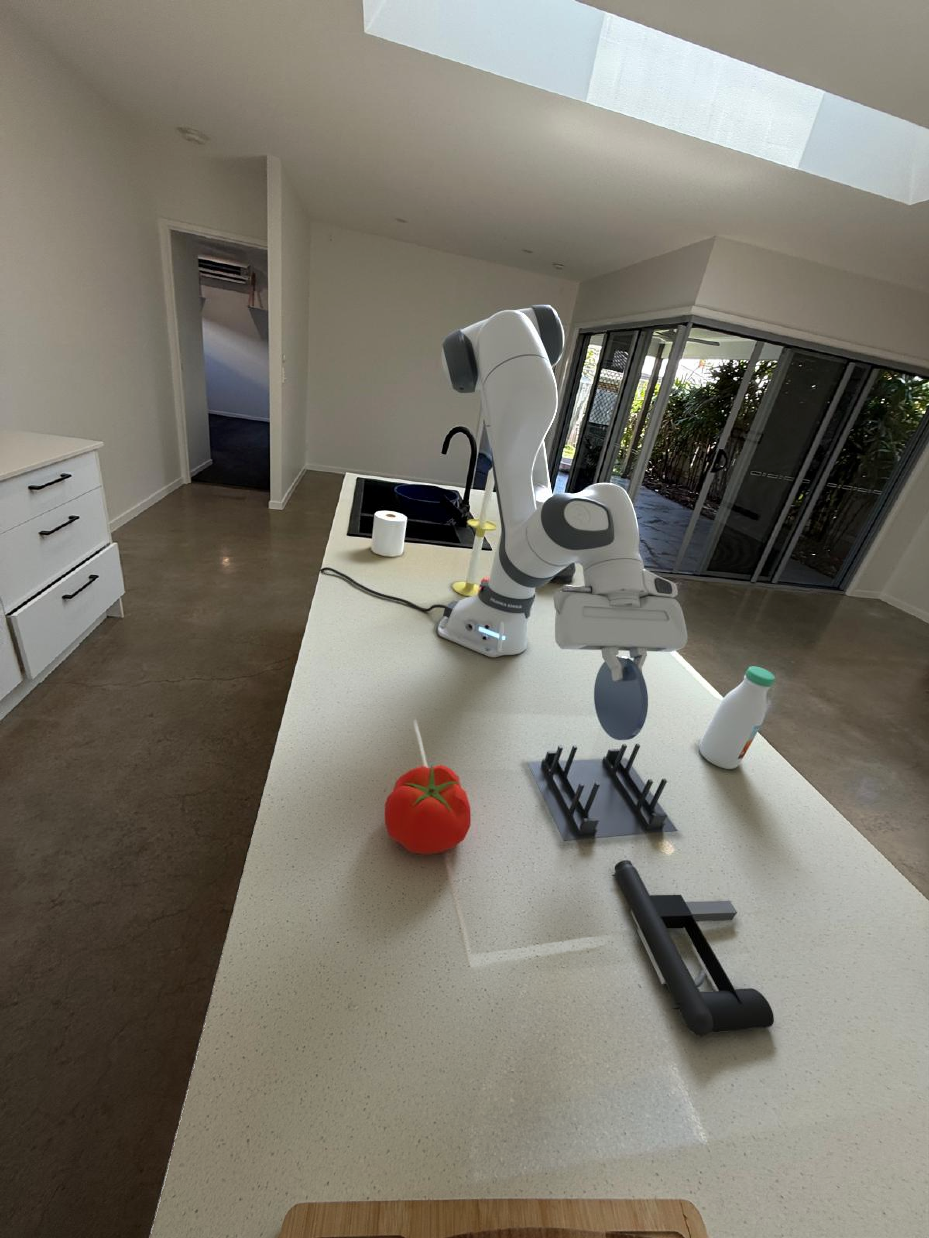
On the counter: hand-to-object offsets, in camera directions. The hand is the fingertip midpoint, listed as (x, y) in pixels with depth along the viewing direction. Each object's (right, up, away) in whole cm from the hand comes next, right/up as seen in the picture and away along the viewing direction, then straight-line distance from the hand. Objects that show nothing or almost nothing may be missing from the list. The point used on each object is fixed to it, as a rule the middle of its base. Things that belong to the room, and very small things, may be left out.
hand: (628, 680), depth 72 cm
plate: (-2, -8, +5) cm, 9 cm away
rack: (-1, -21, +12) cm, 25 cm away
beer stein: (+5, +25, +104) cm, 107 cm away
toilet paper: (-49, +31, +95) cm, 112 cm away
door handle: (+6, -33, -7) cm, 34 cm away
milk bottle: (+27, -19, +29) cm, 44 cm away
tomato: (-29, -22, +1) cm, 36 cm away
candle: (-22, +17, +79) cm, 84 cm away
